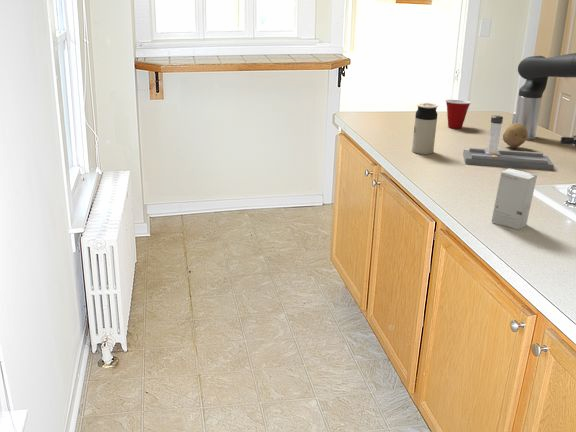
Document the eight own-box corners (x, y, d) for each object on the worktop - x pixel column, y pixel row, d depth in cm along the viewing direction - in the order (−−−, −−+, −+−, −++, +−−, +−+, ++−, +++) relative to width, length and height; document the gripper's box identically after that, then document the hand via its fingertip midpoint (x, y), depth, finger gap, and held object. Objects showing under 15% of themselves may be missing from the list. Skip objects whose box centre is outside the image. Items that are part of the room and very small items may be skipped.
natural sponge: (526, 152, 255) (531, 126, 251) (502, 150, 257) (506, 125, 253) (523, 146, 263) (527, 121, 260) (500, 144, 265) (504, 120, 261)
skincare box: (491, 222, 184) (498, 171, 179) (500, 217, 188) (507, 167, 183) (520, 230, 179) (529, 178, 174) (528, 224, 184) (537, 173, 178)
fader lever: (497, 153, 243) (503, 115, 238) (499, 157, 238) (505, 119, 233) (483, 152, 244) (489, 114, 239) (485, 156, 239) (490, 118, 233)
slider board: (546, 161, 244) (547, 152, 243) (552, 170, 233) (554, 161, 232) (463, 154, 249) (464, 146, 248) (465, 163, 238) (466, 154, 236)
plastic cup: (468, 126, 293) (472, 99, 289) (466, 131, 284) (470, 103, 280) (443, 123, 297) (446, 97, 292) (440, 128, 287) (444, 101, 283)
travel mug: (435, 150, 253) (440, 104, 247) (430, 155, 246) (435, 107, 240) (414, 148, 256) (419, 101, 250) (409, 152, 249) (414, 105, 243)
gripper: (609, 128, 237) (559, 125, 240) (620, 137, 225) (567, 134, 227) (605, 149, 240) (555, 145, 242) (616, 159, 227) (563, 155, 230)
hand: (561, 140), depth 235 cm, fingers closed
